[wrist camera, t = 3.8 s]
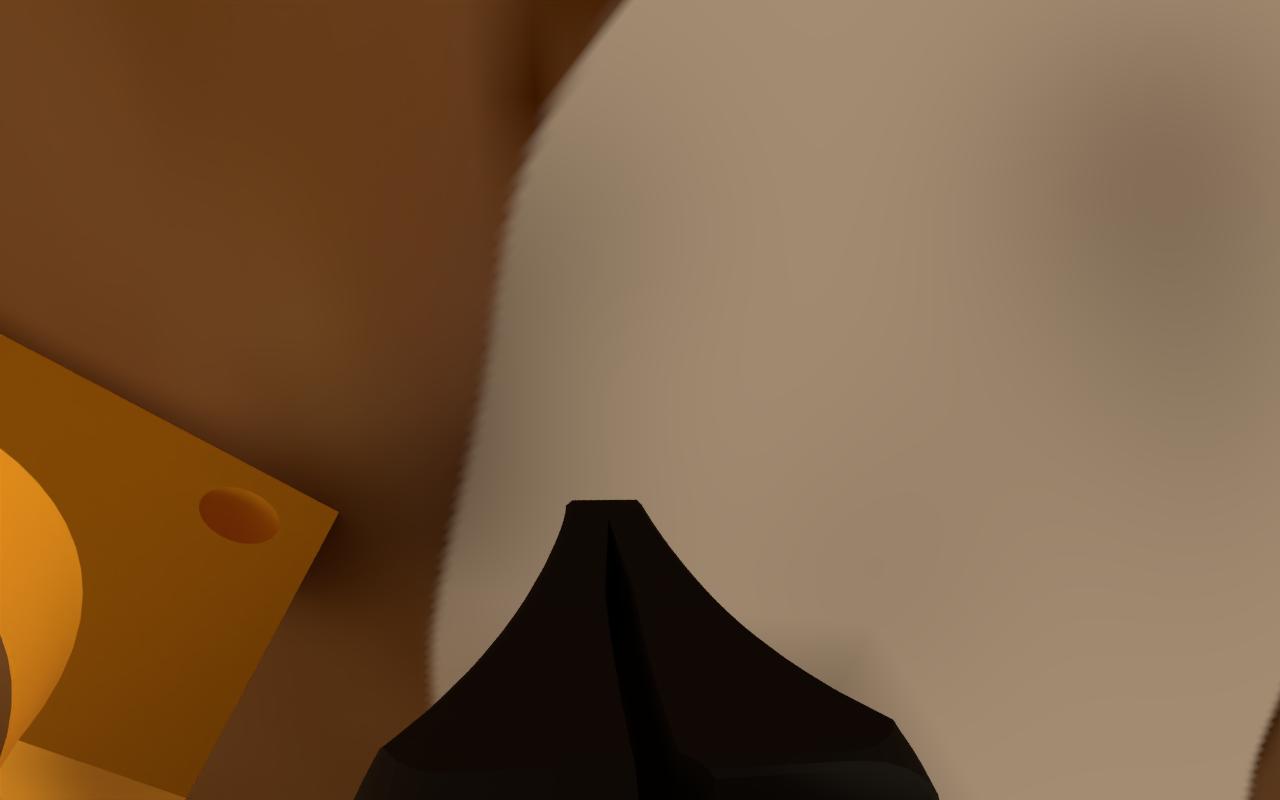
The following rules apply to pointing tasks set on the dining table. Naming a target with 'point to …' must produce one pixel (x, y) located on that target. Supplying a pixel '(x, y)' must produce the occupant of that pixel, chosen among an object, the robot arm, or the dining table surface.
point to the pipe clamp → (129, 586)
